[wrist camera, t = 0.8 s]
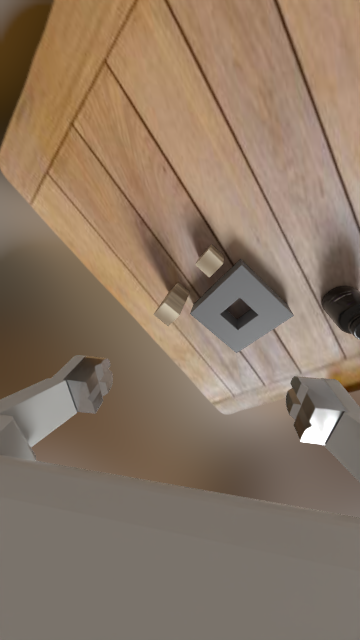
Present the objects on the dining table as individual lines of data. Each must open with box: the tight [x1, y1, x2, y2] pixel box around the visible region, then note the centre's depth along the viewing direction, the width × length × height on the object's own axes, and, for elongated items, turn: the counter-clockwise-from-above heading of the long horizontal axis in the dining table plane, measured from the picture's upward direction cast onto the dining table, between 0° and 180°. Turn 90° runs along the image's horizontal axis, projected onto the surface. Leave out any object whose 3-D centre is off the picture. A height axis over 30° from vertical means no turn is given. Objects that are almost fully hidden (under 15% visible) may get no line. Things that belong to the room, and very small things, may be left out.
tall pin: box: [154, 282, 190, 326], centre depth 45 cm, size 4×4×12 cm
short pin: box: [195, 244, 224, 278], centre depth 41 cm, size 4×4×6 cm
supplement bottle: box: [322, 286, 360, 340], centre depth 37 cm, size 7×7×12 cm
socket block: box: [190, 259, 294, 353], centre depth 46 cm, size 16×16×5 cm
